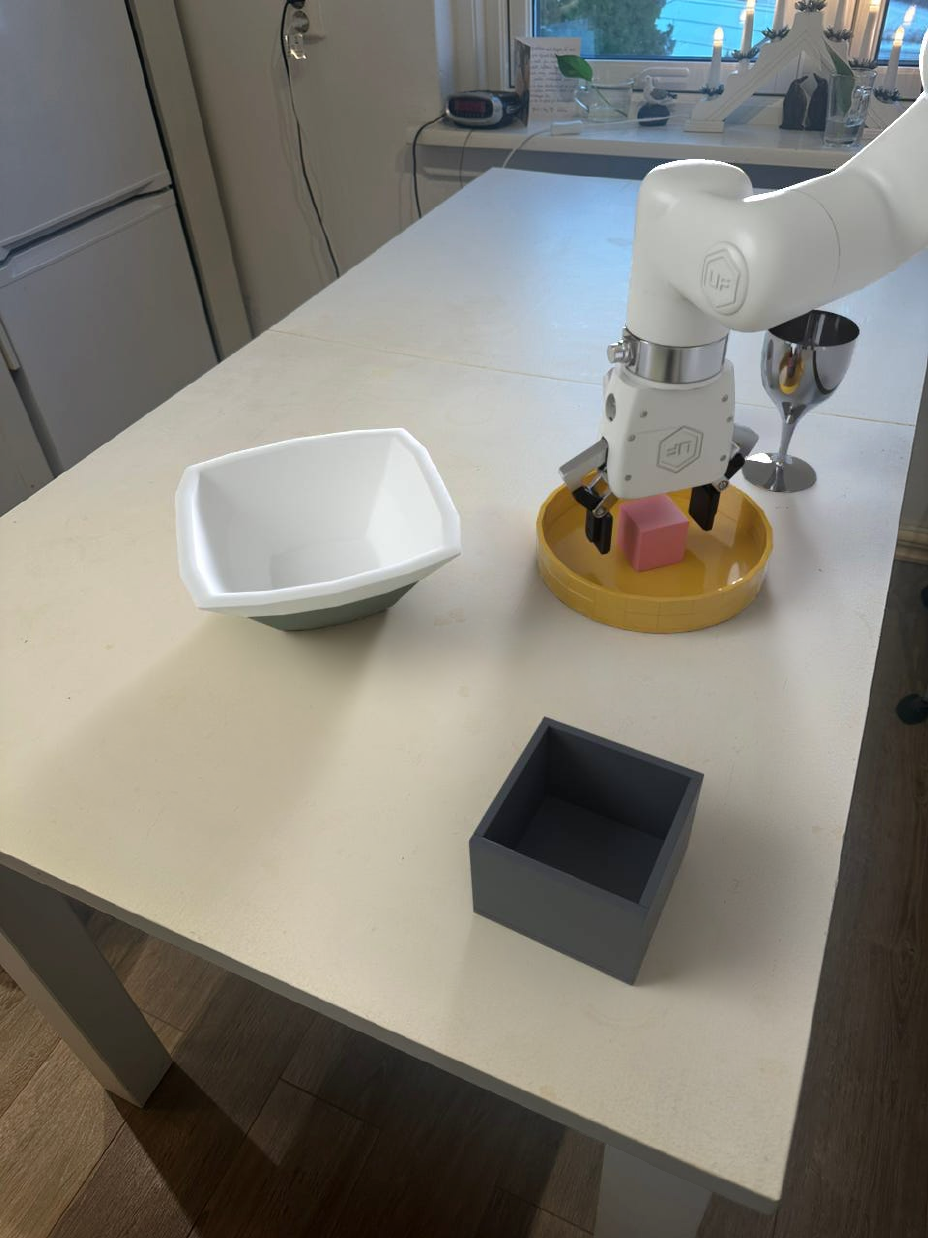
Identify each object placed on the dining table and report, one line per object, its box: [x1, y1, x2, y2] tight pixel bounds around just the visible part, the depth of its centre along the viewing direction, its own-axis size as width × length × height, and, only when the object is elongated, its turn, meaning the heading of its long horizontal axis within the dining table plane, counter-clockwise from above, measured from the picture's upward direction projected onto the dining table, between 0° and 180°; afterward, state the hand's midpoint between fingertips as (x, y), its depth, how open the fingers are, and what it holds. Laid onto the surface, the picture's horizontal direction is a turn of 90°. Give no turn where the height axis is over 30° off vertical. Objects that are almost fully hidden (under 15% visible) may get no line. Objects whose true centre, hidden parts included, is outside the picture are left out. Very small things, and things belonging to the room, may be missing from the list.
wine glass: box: [740, 309, 861, 493], centre depth 82 cm, size 8×8×15 cm
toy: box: [617, 494, 689, 572], centre depth 76 cm, size 4×4×4 cm
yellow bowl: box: [535, 469, 774, 634], centre depth 77 cm, size 20×20×4 cm
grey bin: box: [468, 716, 705, 987], centre depth 52 cm, size 10×10×8 cm
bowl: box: [174, 427, 462, 631], centre depth 74 cm, size 22×23×8 cm
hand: (649, 533), depth 76 cm, fingers open, 9 cm apart
